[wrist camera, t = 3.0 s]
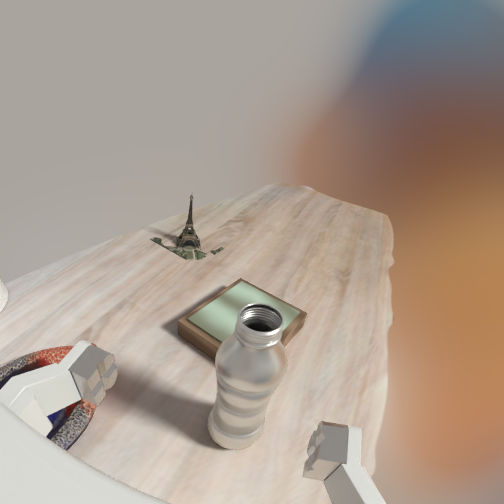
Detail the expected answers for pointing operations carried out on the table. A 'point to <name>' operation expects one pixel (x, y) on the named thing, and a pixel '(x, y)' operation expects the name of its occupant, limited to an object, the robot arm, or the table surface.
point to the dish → (63, 421)
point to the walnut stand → (233, 316)
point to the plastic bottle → (247, 376)
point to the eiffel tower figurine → (187, 241)
